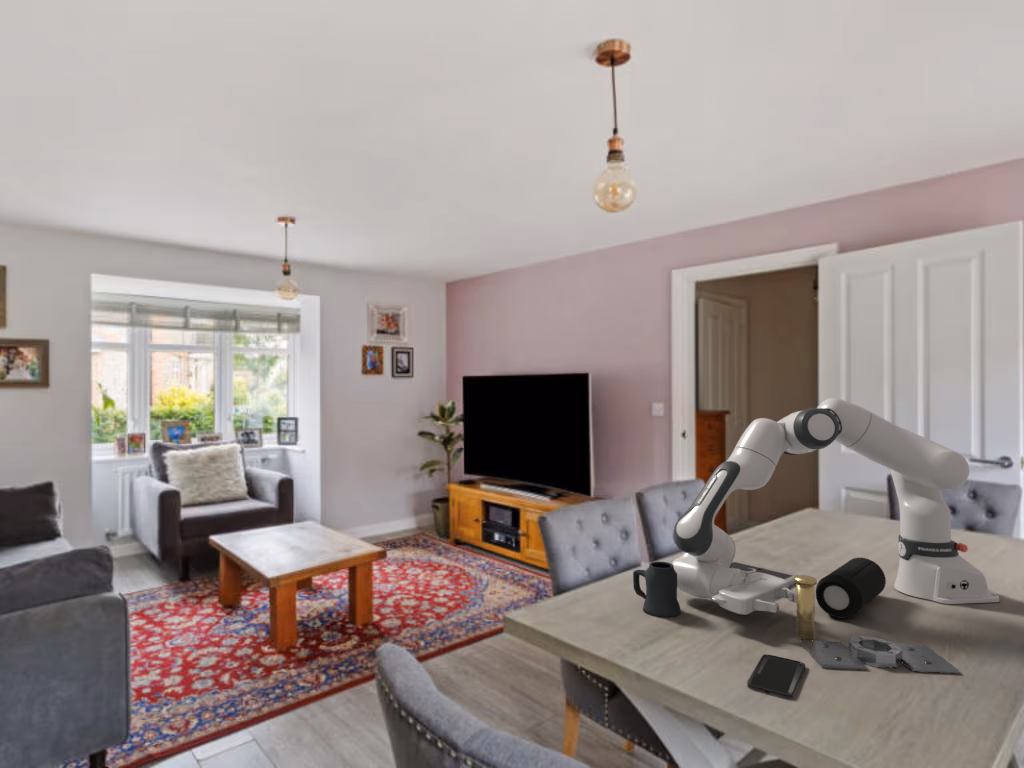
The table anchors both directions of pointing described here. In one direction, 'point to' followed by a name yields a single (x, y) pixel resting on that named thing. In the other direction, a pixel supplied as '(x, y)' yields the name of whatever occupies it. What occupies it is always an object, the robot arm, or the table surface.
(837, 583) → the portable speaker
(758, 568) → the picture frame
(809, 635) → the pin
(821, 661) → the hinge body
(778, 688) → the phone
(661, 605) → the mug
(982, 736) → the table surface
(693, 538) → the robot arm
